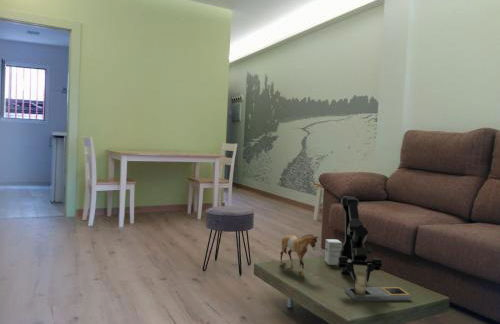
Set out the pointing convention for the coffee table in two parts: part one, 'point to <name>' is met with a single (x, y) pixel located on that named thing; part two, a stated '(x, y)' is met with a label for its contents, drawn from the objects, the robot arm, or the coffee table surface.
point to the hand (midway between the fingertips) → (361, 281)
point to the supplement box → (332, 251)
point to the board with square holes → (379, 294)
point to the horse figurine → (298, 247)
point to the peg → (360, 283)
